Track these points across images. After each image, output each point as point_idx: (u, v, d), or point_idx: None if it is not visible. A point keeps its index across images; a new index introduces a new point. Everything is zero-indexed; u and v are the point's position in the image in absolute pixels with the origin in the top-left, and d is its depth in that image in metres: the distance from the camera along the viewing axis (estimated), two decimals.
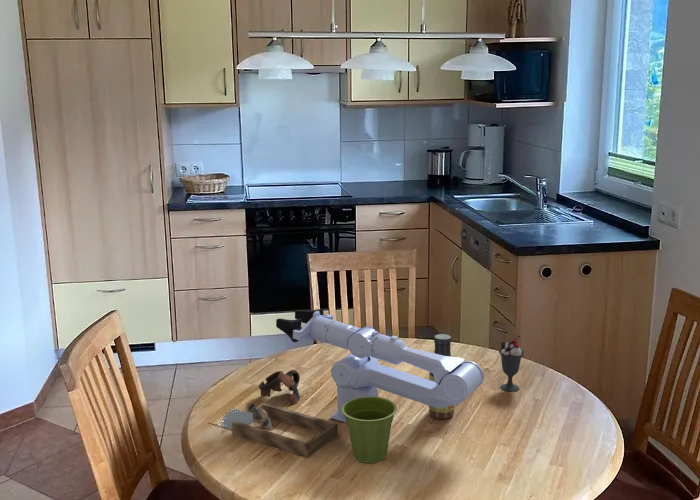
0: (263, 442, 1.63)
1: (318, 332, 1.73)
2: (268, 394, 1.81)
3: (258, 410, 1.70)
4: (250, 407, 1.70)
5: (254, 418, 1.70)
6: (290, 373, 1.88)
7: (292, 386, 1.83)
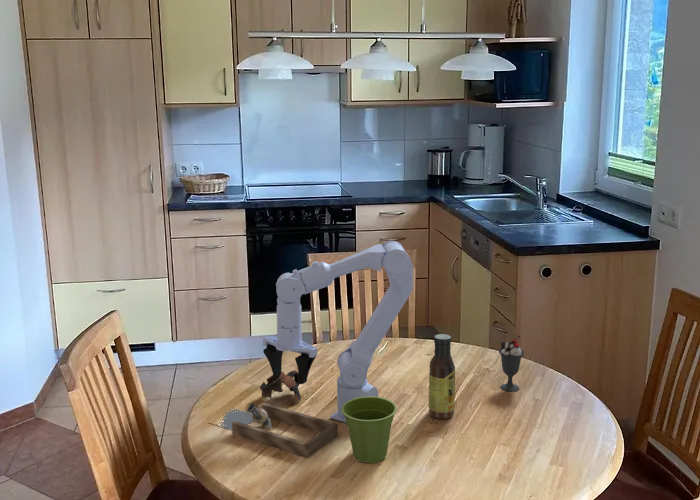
0: (263, 442, 1.63)
1: (298, 335, 1.68)
2: (269, 395, 1.81)
3: (258, 410, 1.70)
4: (250, 407, 1.70)
5: (254, 418, 1.70)
6: (291, 374, 1.88)
7: (293, 387, 1.83)
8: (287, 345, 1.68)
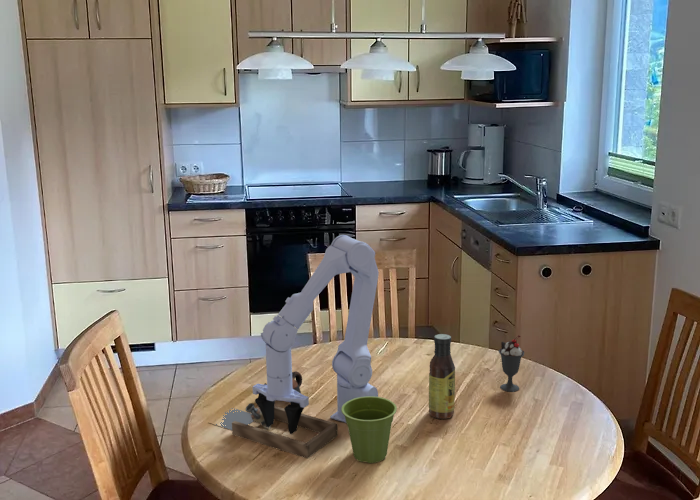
0: (263, 442, 1.63)
1: (289, 384, 1.63)
2: None
3: (257, 409, 1.70)
4: (249, 406, 1.70)
5: (253, 417, 1.70)
6: (293, 375, 1.87)
7: (295, 388, 1.82)
8: (277, 395, 1.62)
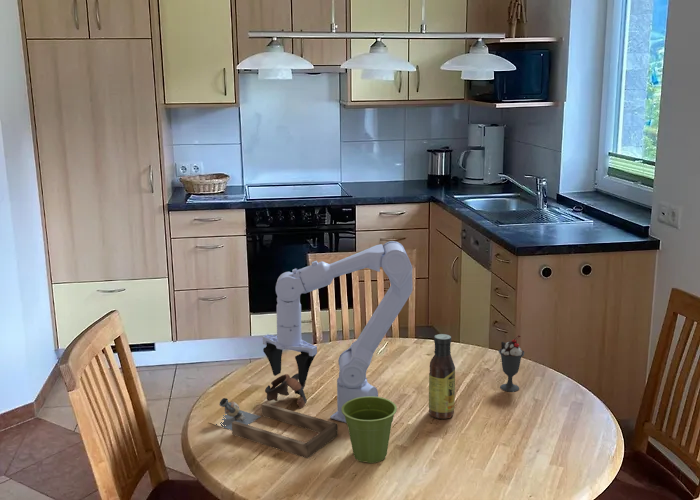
0: (263, 442, 1.63)
1: (298, 334, 1.69)
2: (275, 398, 1.79)
3: (230, 403, 1.73)
4: (222, 401, 1.73)
5: (227, 412, 1.73)
6: (296, 376, 1.86)
7: (299, 390, 1.81)
8: (287, 344, 1.68)
